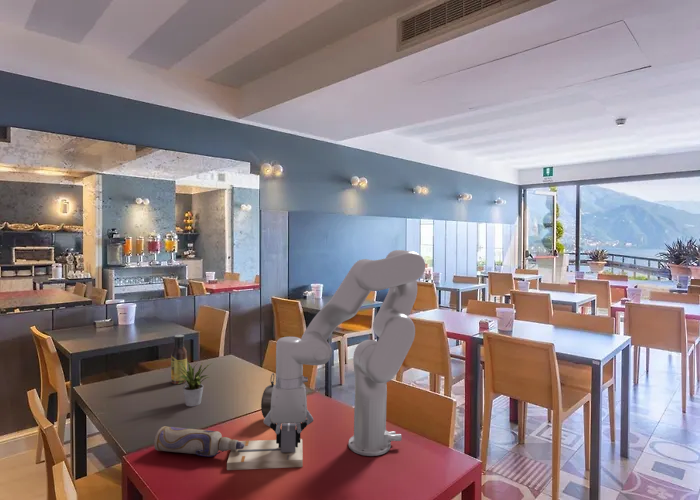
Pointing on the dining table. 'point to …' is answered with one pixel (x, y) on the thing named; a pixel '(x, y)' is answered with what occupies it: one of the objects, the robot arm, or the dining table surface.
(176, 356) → the sauce bottle
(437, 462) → the dining table surface
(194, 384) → the house plant
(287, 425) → the fader slider
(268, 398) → the alarm clock
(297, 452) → the fader board
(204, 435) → the decorative bottle
